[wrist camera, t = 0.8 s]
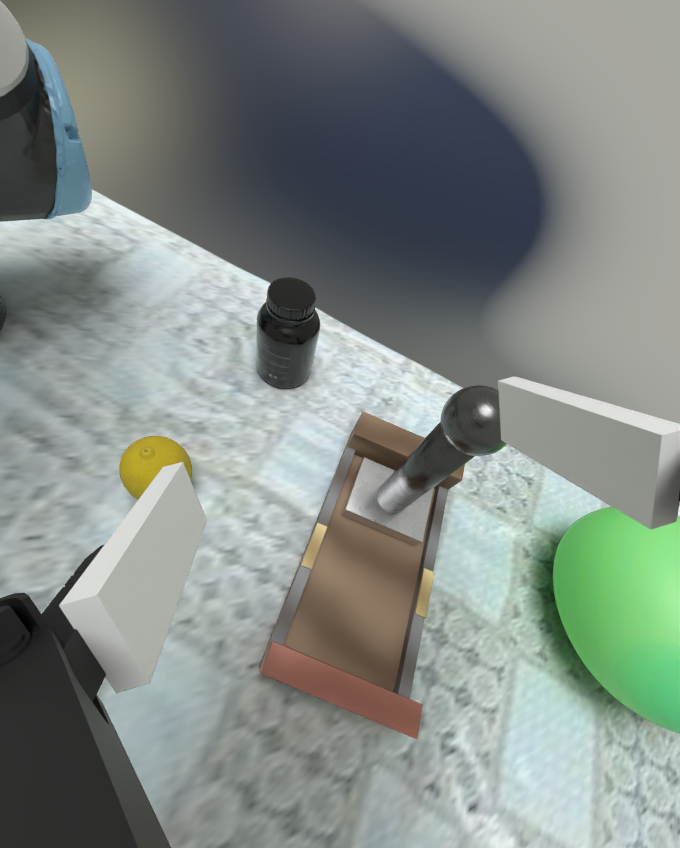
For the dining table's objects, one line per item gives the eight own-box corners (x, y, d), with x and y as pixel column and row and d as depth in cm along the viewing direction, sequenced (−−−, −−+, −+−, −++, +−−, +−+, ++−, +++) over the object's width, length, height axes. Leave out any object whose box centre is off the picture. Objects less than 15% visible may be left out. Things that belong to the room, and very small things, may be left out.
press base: (350, 435, 41) (362, 411, 37) (441, 474, 42) (466, 455, 37) (259, 666, 29) (260, 674, 24) (392, 722, 29) (419, 741, 24)
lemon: (207, 471, 36) (197, 435, 29) (177, 522, 33) (158, 495, 26) (156, 451, 35) (134, 411, 29) (122, 500, 32) (88, 468, 26)
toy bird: (509, 516, 41) (622, 469, 28) (631, 535, 43) (783, 498, 31) (544, 712, 31) (735, 769, 19) (696, 721, 34) (952, 776, 22)
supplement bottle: (274, 340, 46) (280, 260, 36) (319, 363, 46) (338, 289, 36) (245, 373, 43) (243, 295, 32) (293, 399, 42) (307, 328, 32)
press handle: (359, 464, 38) (443, 340, 21) (425, 493, 38) (561, 391, 21) (341, 514, 35) (423, 413, 18) (414, 546, 35) (563, 474, 18)
